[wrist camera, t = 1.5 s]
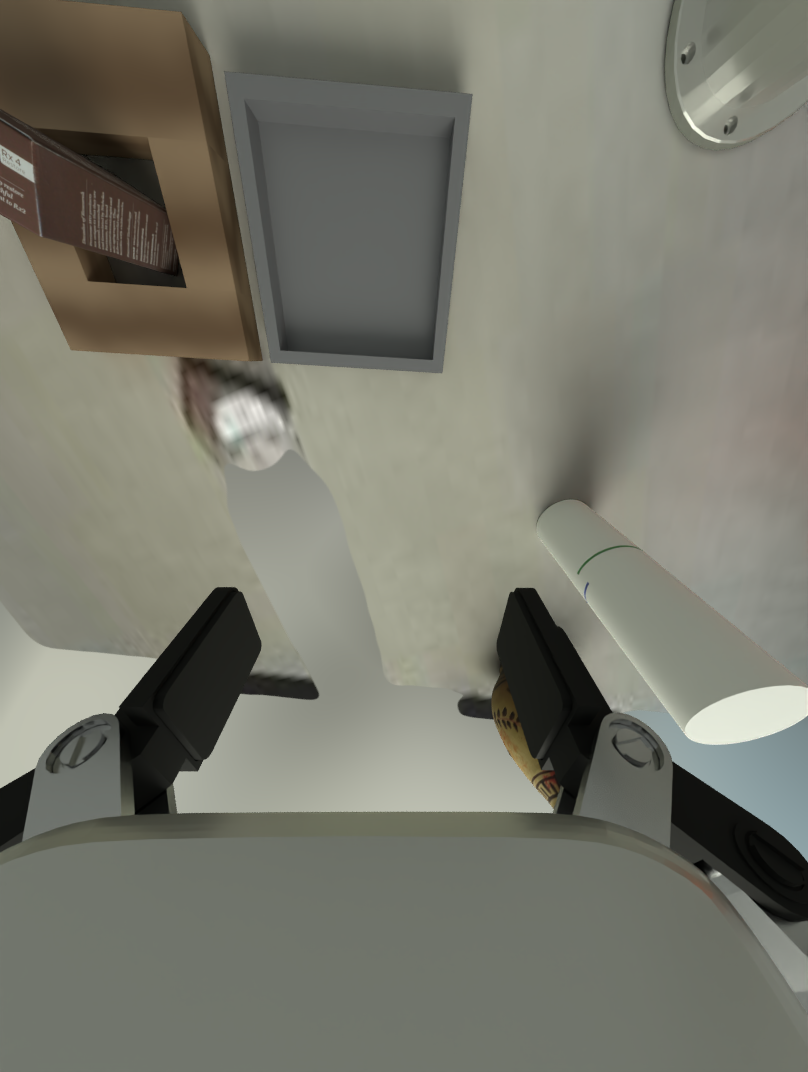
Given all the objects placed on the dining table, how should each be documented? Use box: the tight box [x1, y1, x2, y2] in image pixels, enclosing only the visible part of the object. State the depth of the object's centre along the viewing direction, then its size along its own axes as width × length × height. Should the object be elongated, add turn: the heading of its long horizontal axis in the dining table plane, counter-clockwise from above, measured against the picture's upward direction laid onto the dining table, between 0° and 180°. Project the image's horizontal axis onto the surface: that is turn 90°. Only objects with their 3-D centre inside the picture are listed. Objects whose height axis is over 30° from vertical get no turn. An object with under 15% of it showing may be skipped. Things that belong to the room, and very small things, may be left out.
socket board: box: [0, 0, 263, 361], centre depth 23 cm, size 18×16×3 cm
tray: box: [224, 71, 472, 373], centre depth 24 cm, size 16×16×3 cm
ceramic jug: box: [492, 665, 561, 809], centre depth 44 cm, size 17×15×30 cm
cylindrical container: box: [536, 499, 808, 745], centre depth 29 cm, size 7×7×25 cm
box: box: [0, 109, 179, 276], centre depth 19 cm, size 6×4×12 cm
